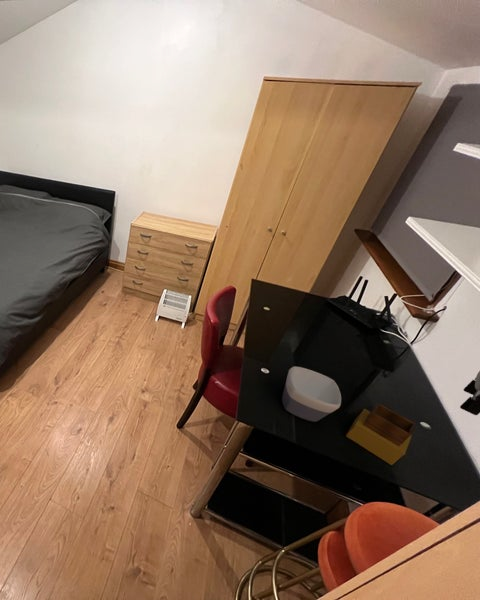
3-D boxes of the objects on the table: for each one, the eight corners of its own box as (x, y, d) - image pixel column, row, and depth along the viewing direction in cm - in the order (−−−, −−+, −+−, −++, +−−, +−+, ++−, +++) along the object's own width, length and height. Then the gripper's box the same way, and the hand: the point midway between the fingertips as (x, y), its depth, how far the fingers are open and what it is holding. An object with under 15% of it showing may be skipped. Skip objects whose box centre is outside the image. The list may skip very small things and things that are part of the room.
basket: (404, 434, 98) (415, 423, 95) (399, 447, 94) (411, 435, 91) (368, 413, 103) (378, 402, 100) (362, 424, 100) (372, 413, 97)
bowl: (274, 412, 108) (289, 390, 102) (275, 382, 120) (288, 361, 114) (327, 433, 103) (345, 411, 97) (322, 400, 115) (339, 379, 108)
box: (399, 447, 101) (411, 435, 98) (391, 466, 95) (404, 454, 92) (354, 419, 109) (364, 408, 105) (345, 435, 103) (355, 424, 100)
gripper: (545, 379, 70) (487, 428, 79) (542, 348, 80) (490, 395, 89) (496, 360, 75) (446, 408, 84) (498, 333, 84) (453, 379, 94)
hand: (469, 402), depth 86 cm, fingers open, 9 cm apart
